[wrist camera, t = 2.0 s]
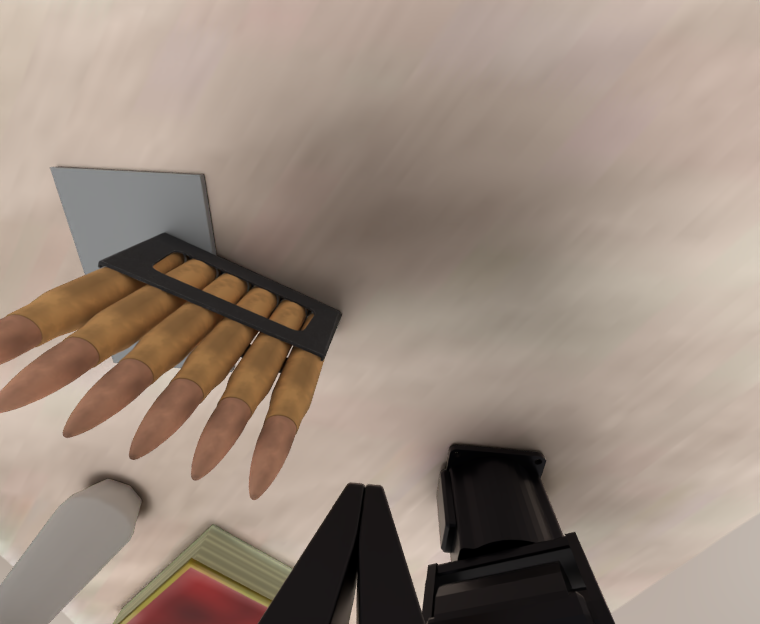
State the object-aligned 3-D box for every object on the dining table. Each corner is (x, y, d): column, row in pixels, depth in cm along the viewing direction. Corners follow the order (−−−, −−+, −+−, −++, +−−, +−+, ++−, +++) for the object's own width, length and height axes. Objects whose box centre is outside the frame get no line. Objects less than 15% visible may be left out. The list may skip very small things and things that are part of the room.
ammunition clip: (342, 312, 21) (295, 489, 10) (330, 336, 22) (273, 526, 11) (163, 231, 19) (-134, 341, 8) (156, 260, 20) (-126, 397, 9)
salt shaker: (161, 493, 29) (-4, 726, 17) (139, 527, 31) (-21, 754, 20) (93, 460, 28) (-133, 685, 16) (75, 498, 30) (-136, 719, 19)
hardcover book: (322, 576, 33) (311, 632, 30) (215, 648, 41) (195, 699, 37) (214, 514, 31) (186, 566, 27) (120, 603, 38) (88, 653, 34)
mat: (203, 174, 18) (199, 175, 18) (234, 368, 23) (231, 372, 23) (56, 166, 19) (49, 167, 18) (118, 359, 24) (113, 362, 23)
